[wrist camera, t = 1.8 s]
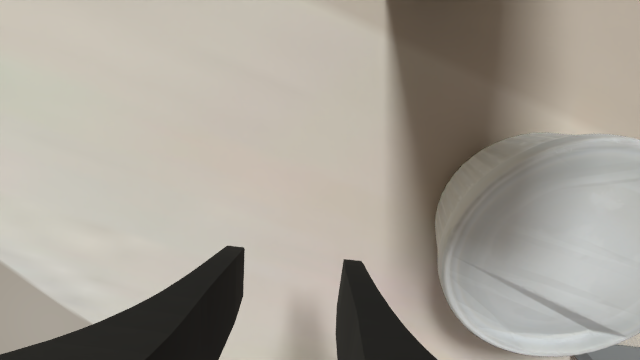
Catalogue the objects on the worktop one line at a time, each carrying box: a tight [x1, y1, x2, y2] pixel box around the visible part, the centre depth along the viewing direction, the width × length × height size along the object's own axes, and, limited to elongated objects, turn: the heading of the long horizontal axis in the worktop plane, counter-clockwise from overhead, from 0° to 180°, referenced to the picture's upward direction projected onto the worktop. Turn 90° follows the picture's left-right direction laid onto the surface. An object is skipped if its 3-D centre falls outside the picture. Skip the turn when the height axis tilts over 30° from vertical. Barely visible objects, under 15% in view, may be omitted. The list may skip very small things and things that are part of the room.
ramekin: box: [435, 133, 640, 357], centre depth 17 cm, size 11×11×5 cm
